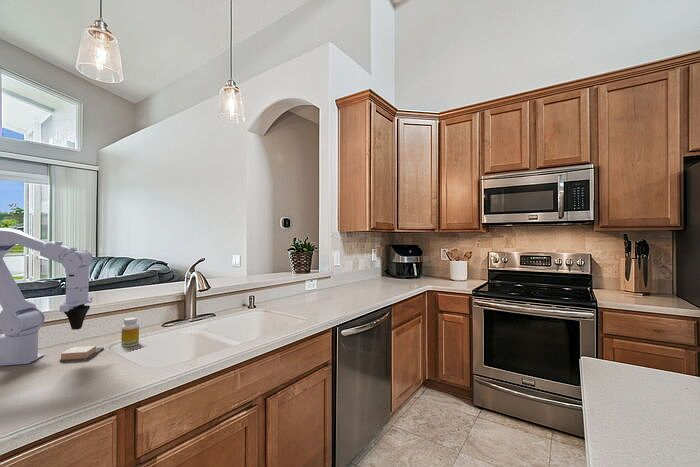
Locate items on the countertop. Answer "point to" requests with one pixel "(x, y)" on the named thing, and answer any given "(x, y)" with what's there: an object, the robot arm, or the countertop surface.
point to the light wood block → (78, 352)
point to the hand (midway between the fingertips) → (76, 328)
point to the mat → (85, 358)
